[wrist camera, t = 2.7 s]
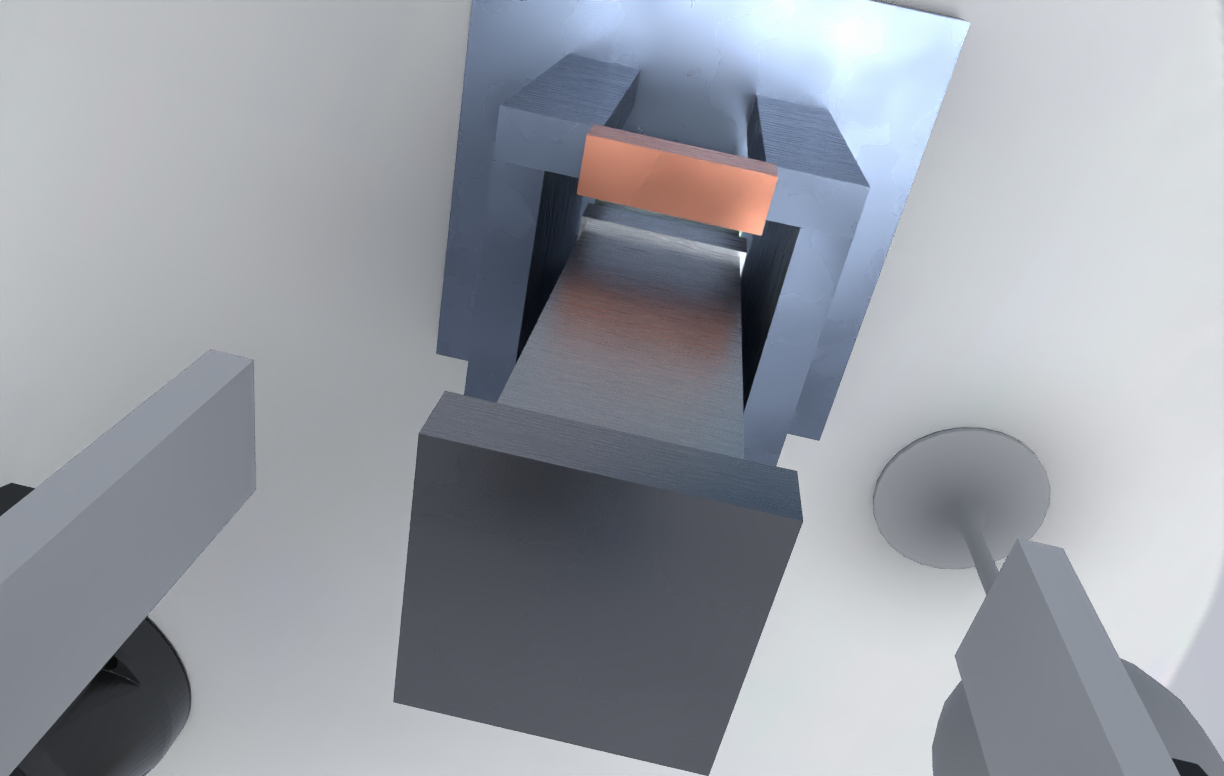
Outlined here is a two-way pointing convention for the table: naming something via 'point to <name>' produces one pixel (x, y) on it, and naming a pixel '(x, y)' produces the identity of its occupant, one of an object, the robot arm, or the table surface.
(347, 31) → the table surface
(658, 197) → the stand
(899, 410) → the table surface
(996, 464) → the wineglass
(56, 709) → the robot arm
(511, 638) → the column
